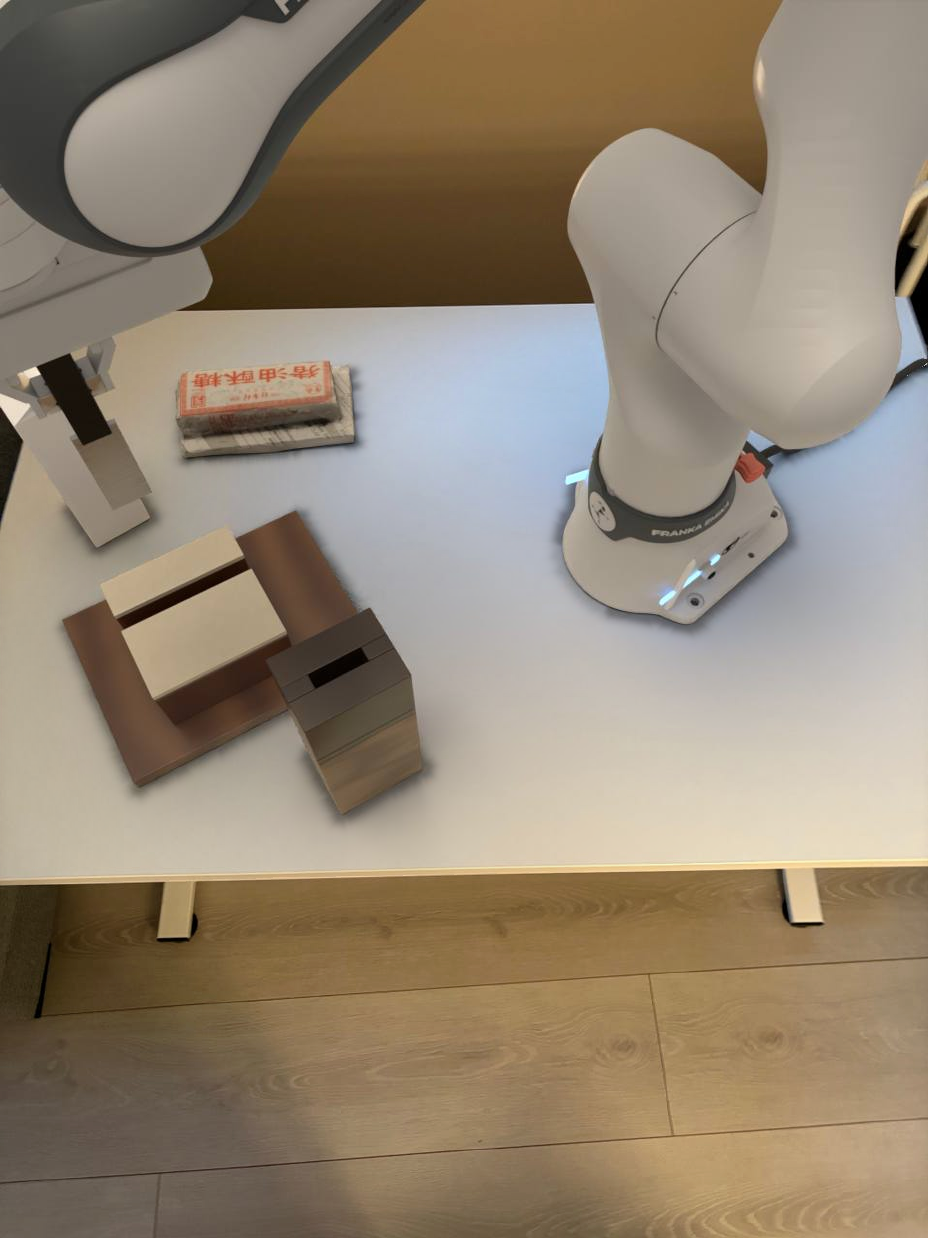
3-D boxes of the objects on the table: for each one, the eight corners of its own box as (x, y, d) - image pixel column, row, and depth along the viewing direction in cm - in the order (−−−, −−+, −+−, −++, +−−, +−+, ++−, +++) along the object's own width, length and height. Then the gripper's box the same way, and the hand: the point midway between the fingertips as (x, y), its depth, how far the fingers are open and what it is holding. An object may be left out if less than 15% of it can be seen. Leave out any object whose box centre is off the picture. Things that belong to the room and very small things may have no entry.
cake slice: (242, 561, 88) (227, 524, 82) (258, 589, 86) (243, 554, 80) (123, 617, 85) (98, 584, 79) (137, 648, 83) (113, 616, 78)
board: (298, 517, 92) (296, 509, 90) (383, 659, 85) (382, 653, 83) (67, 626, 86) (61, 619, 85) (138, 787, 79) (133, 782, 78)
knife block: (390, 713, 82) (370, 606, 64) (422, 769, 80) (412, 675, 61) (310, 757, 81) (265, 659, 62) (341, 815, 78) (304, 732, 60)
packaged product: (169, 432, 90) (171, 355, 95) (182, 461, 95) (184, 387, 99) (352, 414, 91) (345, 339, 96) (357, 444, 96) (350, 371, 100)
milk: (97, 549, 90) (-6, 402, 70) (69, 507, 92) (-39, 353, 72) (152, 517, 92) (67, 365, 72) (124, 477, 94) (33, 318, 74)
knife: (146, 481, 67) (61, 317, 52) (157, 500, 66) (73, 340, 52) (107, 498, 66) (10, 337, 52) (117, 518, 65) (21, 361, 51)
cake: (265, 603, 86) (251, 568, 80) (298, 662, 83) (286, 630, 77) (144, 662, 83) (120, 631, 77) (174, 726, 80) (152, 698, 74)
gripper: (146, 97, 47) (211, 301, 60) (-269, 238, 43) (-106, 427, 55) (194, 169, 45) (251, 365, 57) (-241, 326, 40) (-76, 503, 52)
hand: (74, 397), depth 56 cm, fingers closed on knife, 2 cm apart
